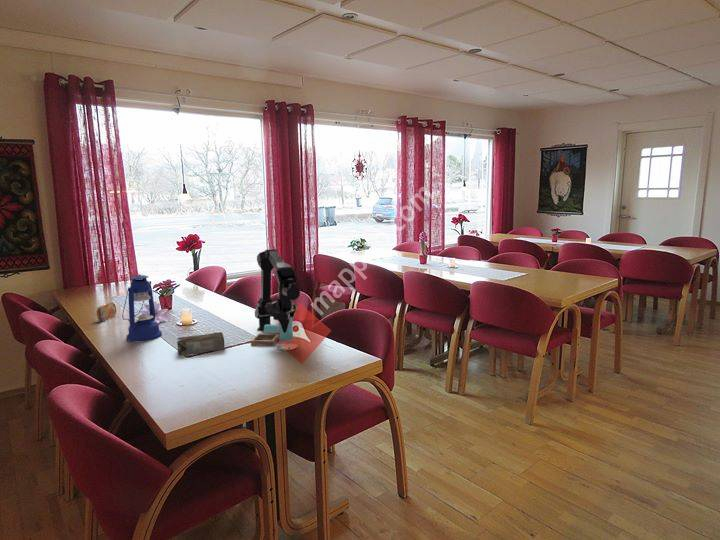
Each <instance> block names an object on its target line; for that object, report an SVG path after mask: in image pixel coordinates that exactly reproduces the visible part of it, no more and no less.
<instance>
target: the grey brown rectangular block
mask: <svg viewBox="0 0 720 540" xmlns="http://www.w3.org/2000/svg"><path fill="white" fill-rule="evenodd" d="M176 345H177V354H178V356H184V354H185V355H192V353H193V354H198V353H200V352H201V353H205V352H206V353H207V352H214V351H223V350H225V337H224V334H223V332H213V333H205V334H198V335H190V336H189V335H188V336H181V337H180V336H179V337H177V341H176ZM201 353H200V354H201Z"/></svg>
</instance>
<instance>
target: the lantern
mask: <svg viewBox="0 0 720 540" xmlns="http://www.w3.org/2000/svg"><path fill="white" fill-rule="evenodd" d="M148 278H149V276H148V275H146V274H145V275H144V274H137V275H134V276H131V277H129V279H130V280H131V282H130V287H128V288H127V290H126V291H127V292H126V297H125V301H124V307H123V310H122V320H123V321H125V320H128V322H129V326H128V333H127V335H126V340H127V341H128V340H129V341H128V342H132V341H142V342H147V341H148V340H149V341H153V340H155V339H159V338H161V337H162V336H161V335H162V331H161V330H160V326H159V323H158V322H156V321H154V320H155V308H154V302H155V301H154V294H153V289H152V281H149V280H148ZM127 298H128V317H129V318H124V311H125V307H126V304H127ZM145 301H148V305H149V307H150V308H149V311H150V315H145V314H141V313H140V311H142V310H143V309H144V308H146V306H145V305H144V304H145ZM135 302H139V304H140V305H141V308H140V309H139V310H137V311H136V314H135ZM140 302H142V303H140ZM148 305H147V306H148ZM143 306H144V307H143ZM139 314H140V315H139ZM160 336H161V337H160Z"/></svg>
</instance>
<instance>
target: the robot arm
mask: <svg viewBox="0 0 720 540" xmlns="http://www.w3.org/2000/svg"><path fill="white" fill-rule="evenodd" d="M256 262H257V265H258V266H259V267H260V270H261V271H260V272H261V274H260V276H261V277H260V278H261V279H260V297H259V299H258V300H257V303H256V307H255V310H254V317H255V318H256V319H258V328H256V330H257V331H264V325H272V323H271V322H272V321H271V317H273V320H276V321H277V322H278V323H279V322H280V324H281V327H282V330H283V332H284V333H286V331H287V328H288V325H289V322H290V319H291V317H290V316H292V320H293V321H294V319H295V318H294V317H295V315H296V313H297V312H296V311H298V304H297V303H295V302H293V301H295V300H297V299H298V298H299V297H300V296H301V295H300V294H301V291H300V289H299V287H297V286H296V284H297V283H298V277H297V274H296V272H295V270H294V268H293V267H292V265H290V264H289V263H286V262H285V261H284V260H283V258H282V257H281V256H280V254H279V252H278V249H277V248H267V249H265V250H264V251H261V252H259V253H258V254H257V256H256ZM273 269H274V277H275V279H276V282H277V284H278V285H277V286H278V289H277V290H278V298H277V299H276V300H275V301H273V300H272V299H271V296H272V294H271V289H272V288H271V287H272V271H273ZM275 311H276V312H275Z"/></svg>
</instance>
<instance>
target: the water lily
mask: <svg viewBox="0 0 720 540" xmlns="http://www.w3.org/2000/svg"><path fill="white" fill-rule="evenodd" d="M147 305H148V306H147ZM143 306H144V307H145V306H146V307H145V309H146V310H141V311H140V310H139V311H140V313H139V314H140V315H141V314H145V315H150V311H149V308H150V307H149V303H143ZM160 306H161V304H160V302H158V303H157V301H154V308H155V320H154V322H157V323H158V324H159V323H160V320H161V321H164V322H169V319H168V318H167V317H165V316H163V314H164V313H166V312H168V310H169V309H168V308H163V309H160Z"/></svg>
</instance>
